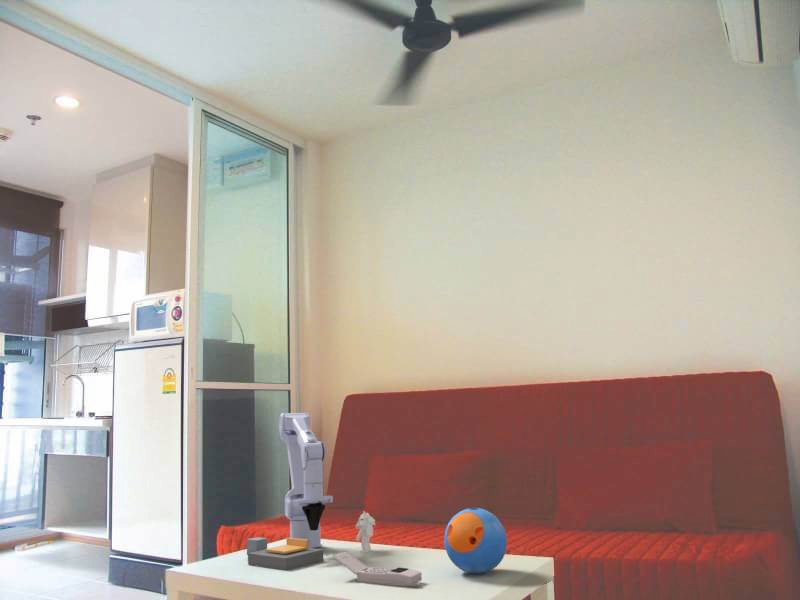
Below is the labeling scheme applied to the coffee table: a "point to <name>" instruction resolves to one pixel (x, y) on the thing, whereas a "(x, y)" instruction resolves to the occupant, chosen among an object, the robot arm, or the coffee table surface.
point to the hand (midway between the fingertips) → (313, 530)
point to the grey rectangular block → (256, 544)
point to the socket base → (285, 558)
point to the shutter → (290, 546)
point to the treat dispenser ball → (475, 541)
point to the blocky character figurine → (365, 531)
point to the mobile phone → (380, 572)
